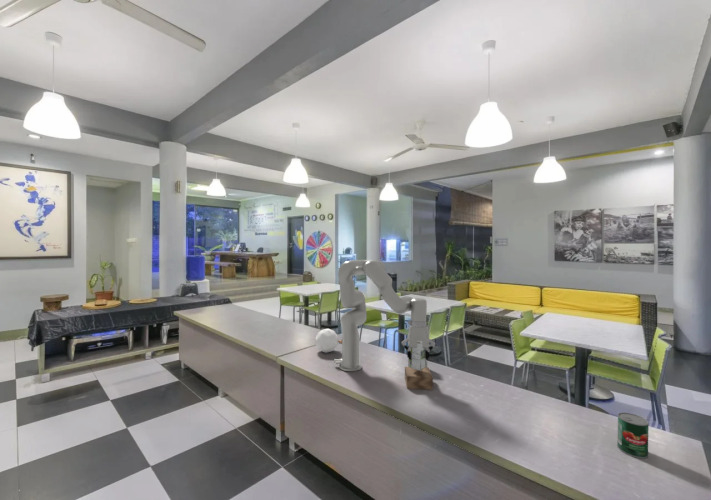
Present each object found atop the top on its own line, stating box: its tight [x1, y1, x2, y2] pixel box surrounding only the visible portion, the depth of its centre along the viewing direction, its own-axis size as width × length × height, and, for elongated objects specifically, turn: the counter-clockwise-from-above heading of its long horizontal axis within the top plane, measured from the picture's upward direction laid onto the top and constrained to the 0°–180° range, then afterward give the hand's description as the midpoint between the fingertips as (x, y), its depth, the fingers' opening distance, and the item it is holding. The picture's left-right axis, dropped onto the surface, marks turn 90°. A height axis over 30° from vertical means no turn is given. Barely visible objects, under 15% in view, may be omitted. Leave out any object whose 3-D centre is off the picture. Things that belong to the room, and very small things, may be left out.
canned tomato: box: [616, 411, 650, 459], centre depth 108 cm, size 8×8×11 cm
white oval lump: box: [315, 328, 342, 354], centre depth 206 cm, size 14×15×20 cm
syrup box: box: [410, 340, 426, 370], centre depth 159 cm, size 6×6×14 cm
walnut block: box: [404, 366, 434, 390], centre depth 159 cm, size 12×12×6 cm
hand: (418, 358), depth 159 cm, fingers closed on syrup box, 8 cm apart
